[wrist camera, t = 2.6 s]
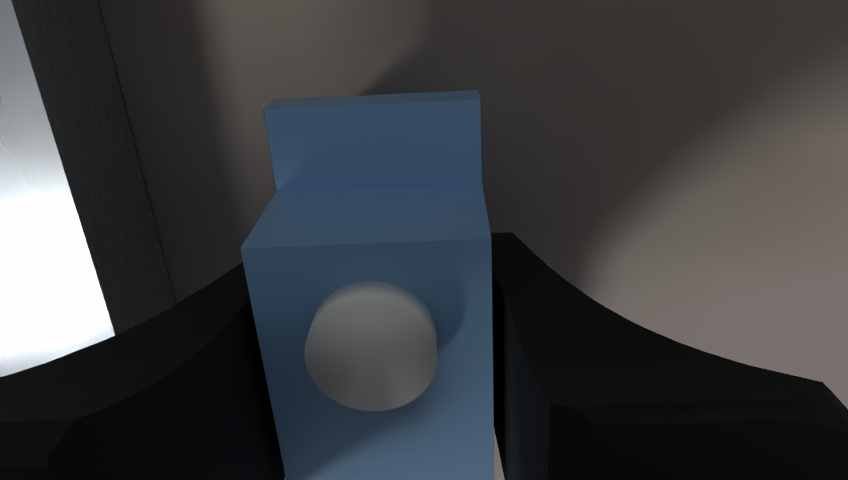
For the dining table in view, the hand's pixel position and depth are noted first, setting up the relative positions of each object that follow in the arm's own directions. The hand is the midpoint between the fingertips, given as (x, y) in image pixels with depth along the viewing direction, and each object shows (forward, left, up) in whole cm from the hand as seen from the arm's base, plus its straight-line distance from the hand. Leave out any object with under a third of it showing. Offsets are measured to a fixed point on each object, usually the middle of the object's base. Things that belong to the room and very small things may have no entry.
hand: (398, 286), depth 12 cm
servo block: (0, 0, -2) cm, 2 cm away
